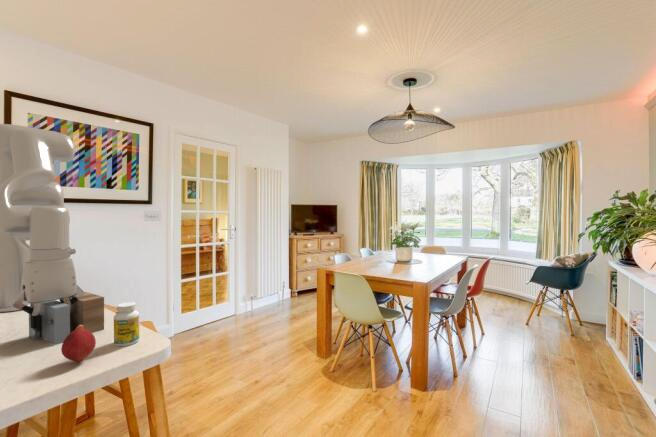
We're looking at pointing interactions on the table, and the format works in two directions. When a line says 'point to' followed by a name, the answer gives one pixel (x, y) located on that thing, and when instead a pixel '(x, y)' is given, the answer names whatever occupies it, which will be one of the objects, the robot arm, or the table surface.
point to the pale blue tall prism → (55, 321)
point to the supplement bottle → (126, 324)
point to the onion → (78, 344)
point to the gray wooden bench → (33, 332)
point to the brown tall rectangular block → (88, 313)
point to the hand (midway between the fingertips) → (50, 326)
